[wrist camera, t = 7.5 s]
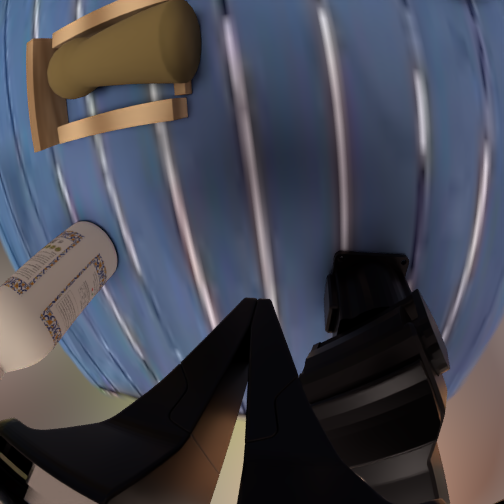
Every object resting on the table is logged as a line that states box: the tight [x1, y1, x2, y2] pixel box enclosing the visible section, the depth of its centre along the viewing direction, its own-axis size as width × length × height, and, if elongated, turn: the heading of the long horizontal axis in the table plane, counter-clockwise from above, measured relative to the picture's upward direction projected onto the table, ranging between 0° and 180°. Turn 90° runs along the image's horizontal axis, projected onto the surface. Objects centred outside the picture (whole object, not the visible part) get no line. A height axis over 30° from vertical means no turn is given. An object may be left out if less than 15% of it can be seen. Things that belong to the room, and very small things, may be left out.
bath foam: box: [0, 221, 117, 380], centre depth 18 cm, size 7×7×20 cm
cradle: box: [26, 0, 192, 152], centre depth 15 cm, size 14×10×4 cm
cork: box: [47, 0, 201, 99], centre depth 14 cm, size 6×6×11 cm
